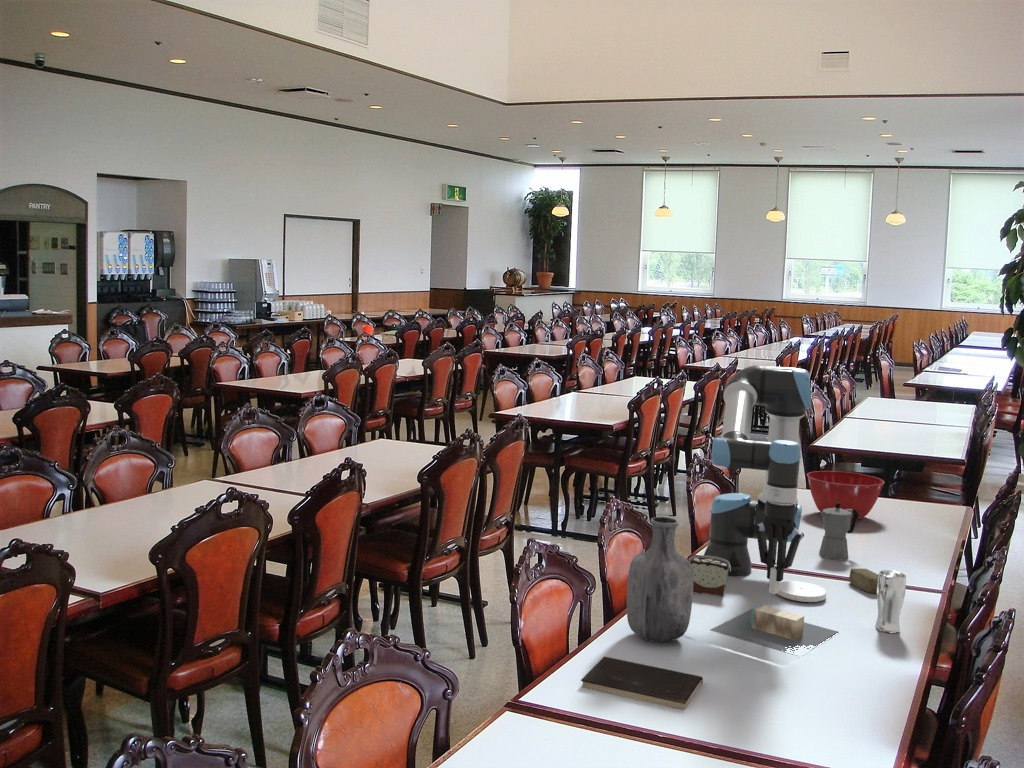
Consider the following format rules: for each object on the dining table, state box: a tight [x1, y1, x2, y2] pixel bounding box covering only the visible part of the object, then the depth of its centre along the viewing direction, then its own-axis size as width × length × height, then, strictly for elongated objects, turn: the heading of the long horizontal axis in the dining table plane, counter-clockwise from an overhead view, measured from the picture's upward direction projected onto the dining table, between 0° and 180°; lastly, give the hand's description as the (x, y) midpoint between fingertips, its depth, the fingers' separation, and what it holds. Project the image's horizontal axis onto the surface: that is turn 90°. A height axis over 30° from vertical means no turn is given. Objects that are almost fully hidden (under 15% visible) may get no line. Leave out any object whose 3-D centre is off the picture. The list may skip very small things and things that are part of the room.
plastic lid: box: [776, 580, 827, 603], centre depth 292 cm, size 14×14×2 cm
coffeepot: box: [818, 503, 859, 560], centre depth 336 cm, size 15×9×18 cm, turn 113°
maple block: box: [751, 604, 805, 640], centre depth 260 cm, size 5×5×12 cm
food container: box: [688, 554, 731, 597], centre depth 291 cm, size 12×6×10 cm, turn 65°
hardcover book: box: [580, 656, 704, 710], centre depth 224 cm, size 16×23×2 cm
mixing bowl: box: [806, 470, 885, 521], centre depth 393 cm, size 28×28×15 cm
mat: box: [710, 608, 839, 653], centre depth 261 cm, size 24×24×1 cm
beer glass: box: [874, 569, 907, 633], centre depth 267 cm, size 7×7×15 cm
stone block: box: [848, 568, 879, 594], centre depth 303 cm, size 6×12×5 cm, turn 16°
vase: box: [626, 516, 694, 643], centre depth 251 cm, size 16×16×30 cm
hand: (773, 592), depth 260 cm, fingers closed
